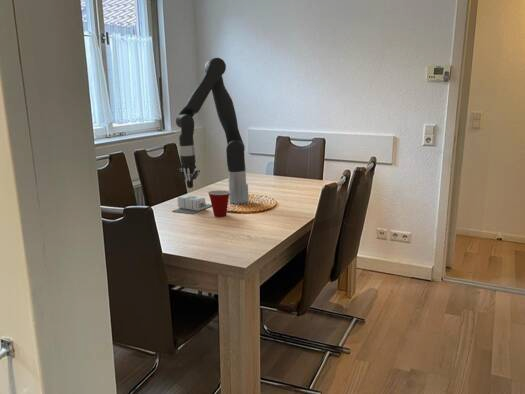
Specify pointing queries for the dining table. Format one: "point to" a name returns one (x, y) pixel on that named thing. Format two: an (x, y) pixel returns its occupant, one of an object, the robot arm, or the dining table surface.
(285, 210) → the dining table surface
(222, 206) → the plastic cup
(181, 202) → the syrup box
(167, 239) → the dining table surface
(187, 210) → the charcoal placemat
